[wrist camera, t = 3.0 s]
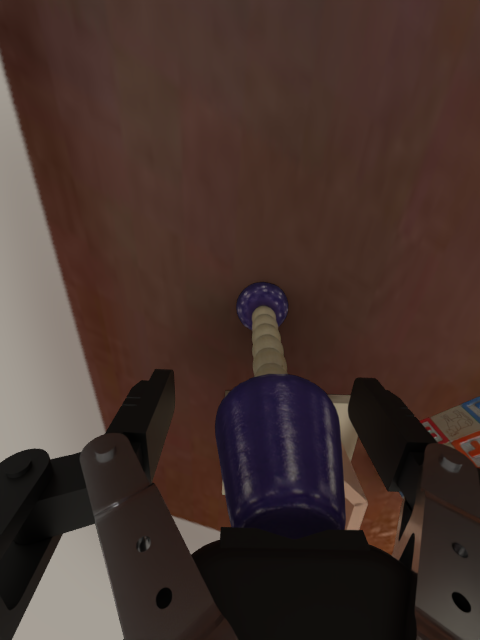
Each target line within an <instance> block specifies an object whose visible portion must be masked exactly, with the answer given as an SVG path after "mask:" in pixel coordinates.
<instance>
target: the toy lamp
mask: <svg viewBox="0 0 480 640" xmlns="http://www.w3.org/2000/svg"><path fill="white" fill-rule="evenodd" d="M236 309H237V314H238V317H239V319H240V321H241V322H242V323H243V324H244V325H245V326H246V327H247V328H249V329H250V330H252V331H253V334H252V342H253V348H252V353H253V358H254V360H253V371H254V374H255V375H254V377H253V378H250V379H249V380H247V381H245V382H242V383H240V384H239V385H238V386H236V387H234V388H233V390H231V391H230V392H229V393H228V394H227V395H226V397H225V398H224V399H223V400H222V402H221V404H220V406H219V408H218V411H217V415H216V421H215V434H216V441H217V447H218V454H219V459H220V466H221V473H222V479H223V484H224V490H225V496H226V502H227V508H228V514H229V518H230V522H231V527H238V528H258V529H261V530H264V531H268V532H271V533H274V534H277V535H280V536H284V537H287V538H290V539H299V538H302V537H305V536H309V535H312V534H315V533H318V532H322V531H325V530H328V529H329V530H345V525H346V511H345V491H344V474H343V459H342V445H341V432H340V422H339V417H338V413H337V410H336V408H335V406H334V404H333V402H332V400H331V399H330V398H329V396H328V395H327V394H326V392H325V391H323V390H322V389H321V388H320V387H318V386H317V385H316V384H314V383H312V382H310V381H309V380H306V379H304V378H301V377H298V376H295V375H290V374H287V364H286V360H285V358H284V356H283V355H284V350H283V346H282V344H281V342H280V341H281V337H280V333H279V331H278V327H279V326H280V325H281V324H282V323H283V321H284V319H285V318H286V316H287V312H288V301H287V298H286V295H285V294H284V292H283V291H282V290H281V289H280V288H279V287H278V286H276V285H274V284H271V283H266V282H260V283H254V284H251V285H250V286H248V287H247V288H245V289H244V290H243V291H242V292H241V294H240V295H239V297H238V300H237V305H236Z"/></svg>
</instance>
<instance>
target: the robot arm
mask: <svg viewBox="0 0 480 640" xmlns="http://www.w3.org/2000/svg"><path fill="white" fill-rule="evenodd" d="M174 408H175V386H174V372H173V370H165V369H155V370H154V372H153V374H152V376H151V378H150V380H149V381H144V380H141V381H140V382H139V383H138V384H136V385H135V386H134V387H132V389H131V390H130V392H129V394H128V395H127V398H126V399H125V401H124V402H123V404H122V406H121V407H120V409H119V411H118V412H117V414H116V416H115V418H114V419H113V421H112V423H111V424H110V426H109V428H108V429H107V431H106V433H105V434H104V435H101V436H99V437H97V438H95V439H93V440H92V441H90V442H89V443H88V444H87V445H86V446H85V447H84V448H83V450H82V452H80V453H76V454H73V455H68V456H64V457H59V458H55V459H50V457H49V455H48V453H47V452H46V451H44V450H42V449H28V450H24V451H21V452H18V453H16V454H14V455H12V456H10V457H8V458H7V459H5V460H4V461H2V462H1V463H0V640H12V638H13V636H14V634H15V632H16V630H17V627H18V626H19V623H20V621H21V619H22V617H23V615H24V613H25V611H26V609H27V607H28V605H29V603H30V601H31V599H32V596H33V594H34V592H35V590H36V588H37V586H38V584H39V582H40V580H41V578H42V576H43V574H44V572H45V569H46V567H47V565H48V563H49V561H50V559H51V557H52V555H53V553H54V551H55V549H56V547H57V545H58V542H59V540H60V538H61V536H62V534H63V533H66V532H69V531H73V530H76V529H79V528H82V527H85V526H89V525H92V524H95V525H96V529H97V533H98V537H99V541H100V544H101V548H102V552H103V556H104V560H105V564H106V568H107V572H108V576H109V580H110V584H111V588H112V592H113V596H114V600H115V604H116V608H117V612H118V616H119V620H120V624H121V628H122V632H123V635H124V639H123V640H480V468H477V467H476V466H475V465H474V463H473V462H472V461H471V460H470V459H469V458H468V457H466V456H465V455H464V454H463V453H461V452H459V451H458V450H456V449H454V448H452V447H450V446H447V445H444V444H439V443H438V442H437V441H436V440H435V439H434V437H433V436H432V435H431V434H430V433H429V432H428V431H427V429H426V428H425V427H424V426H423V425H422V424H421V422H420V421H419V420H418V419H417V418H416V417H414V414H413V413H412V412H411V411H410V410H409V409H408V407H407V406H406V405H405V404H404V403H403V402H402V400H401V399H400V398H399V397H397V396H396V395H394V394H393V393H391V392H390V391H389V390H385V389H384V387H383V386H382V385H381V384H380V383H379V381H378V380H377V379H375V378H356V379H355V381H354V385H353V389H352V392H351V396H350V400H349V404H348V416H349V419H350V421H351V423H352V425H353V427H354V429H355V431H356V433H357V435H358V436H359V438H360V440H361V442H362V444H363V446H364V448H365V449H366V451H367V453H368V455H369V457H370V459H371V461H372V463H373V464H374V466H375V468H376V470H377V472H378V474H379V476H380V477H381V479H382V481H383V483H384V485H385V487H386V489H387V491H393V492H402V493H403V495H404V499H403V501H402V505H401V511H400V517H399V522H398V528H397V534H396V539H395V545H394V550H393V554H392V556H391V555H390V554H388V553H386V552H385V551H383V550H381V549H379V548H376V547H374V546H372V545H369V544H368V542H367V540H366V537H365V535H364V532H363V530H329V529H328V530H325V531H322V532H318V533H315V534H312V535H309V536H305V537H302V538H299V539H290V538H287V537H284V536H280V535H277V534H274V533H271V532H268V531H264V530H261V529H258V528H238V527H221V534H220V540H218V541H215V542H212V543H209V544H207V545H205V546H203V547H202V548H200V549H198V550H197V551H195V552H194V553H193V554H192V555H191V554H190V552H189V550H188V548H187V546H186V544H185V542H184V540H183V538H182V536H181V534H180V532H179V530H178V528H177V526H176V524H175V522H174V520H173V518H172V516H171V514H170V512H169V510H168V508H167V506H166V504H165V502H164V500H163V498H162V496H161V494H160V492H159V490H158V488H157V486H156V485H155V484H154V483H152V480H153V477H154V474H155V471H156V468H157V464H158V461H159V458H160V455H161V452H162V448H163V445H164V442H165V439H166V436H167V432H168V429H169V426H170V423H171V420H172V416H173V413H174Z"/></svg>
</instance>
